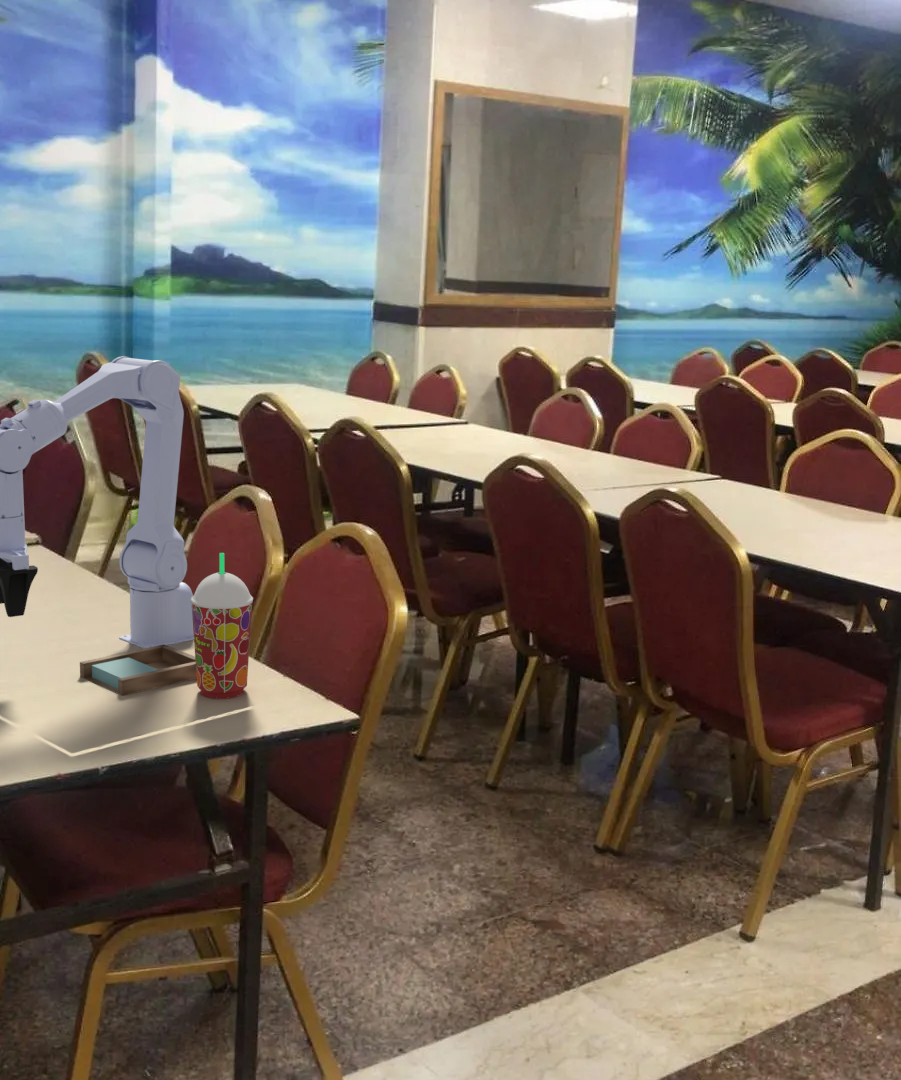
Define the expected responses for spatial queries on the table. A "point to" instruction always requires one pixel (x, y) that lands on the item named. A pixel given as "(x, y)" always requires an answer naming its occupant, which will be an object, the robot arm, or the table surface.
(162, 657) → the walnut box
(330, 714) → the table surface
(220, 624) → the smoothie
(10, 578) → the robot arm
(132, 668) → the cover plate
